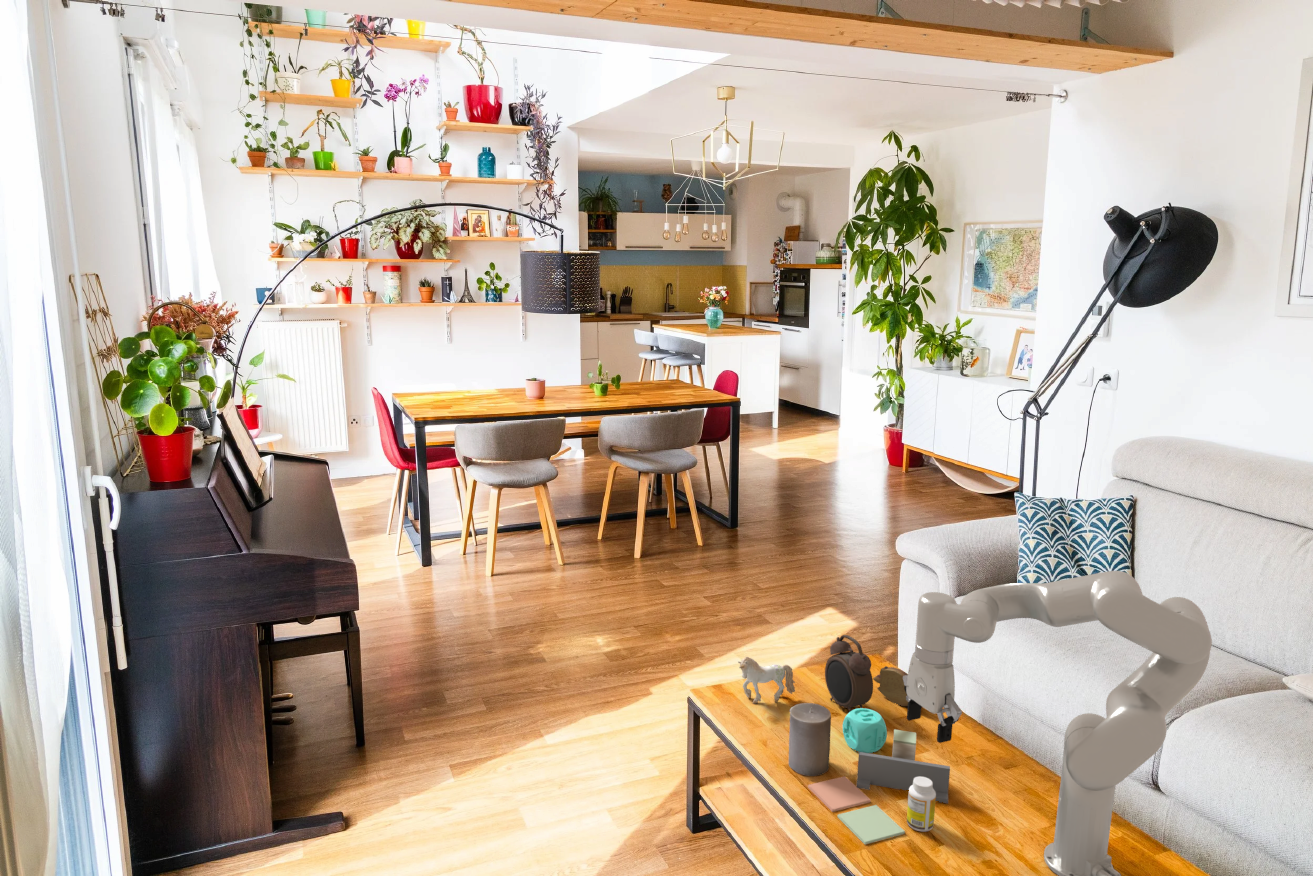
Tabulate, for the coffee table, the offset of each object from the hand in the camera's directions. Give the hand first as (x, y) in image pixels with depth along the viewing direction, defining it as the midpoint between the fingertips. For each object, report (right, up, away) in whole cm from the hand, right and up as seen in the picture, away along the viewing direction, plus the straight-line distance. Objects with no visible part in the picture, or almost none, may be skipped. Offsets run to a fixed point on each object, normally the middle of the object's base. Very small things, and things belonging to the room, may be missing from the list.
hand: (928, 729), depth 185 cm
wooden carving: (+10, -12, +58) cm, 60 cm away
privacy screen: (-1, -19, +17) cm, 26 cm away
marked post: (+1, -18, +23) cm, 29 cm away
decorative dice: (-5, -16, +36) cm, 40 cm away
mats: (-13, -21, +9) cm, 26 cm away
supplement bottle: (-1, -22, +4) cm, 22 cm away
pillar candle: (-21, -17, +26) cm, 38 cm away
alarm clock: (-5, -12, +55) cm, 57 cm away
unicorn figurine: (-27, -12, +56) cm, 63 cm away
